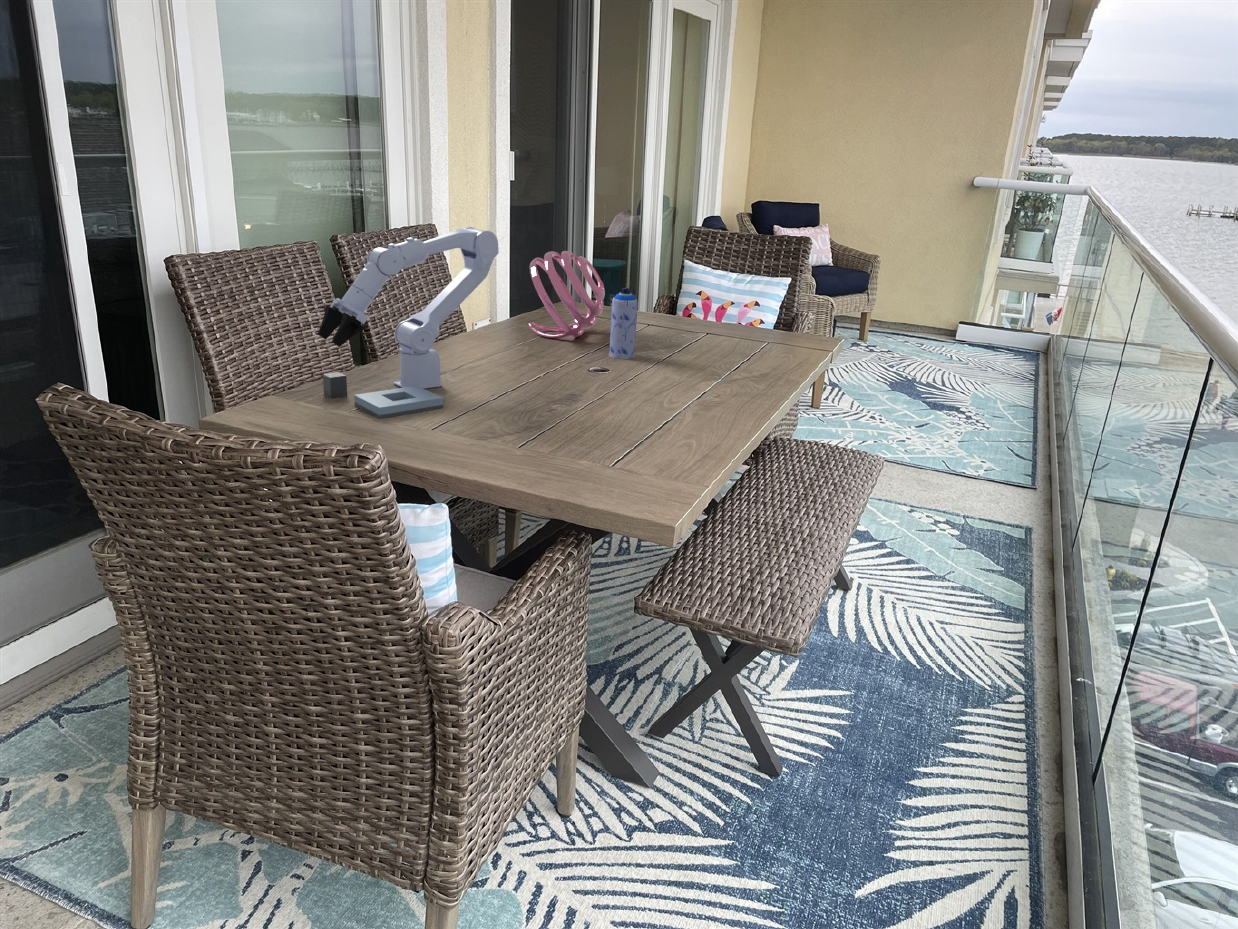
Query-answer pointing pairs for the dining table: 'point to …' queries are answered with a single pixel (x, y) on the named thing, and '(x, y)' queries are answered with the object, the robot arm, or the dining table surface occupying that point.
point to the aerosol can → (623, 325)
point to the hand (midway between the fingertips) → (328, 340)
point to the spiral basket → (568, 294)
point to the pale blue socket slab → (398, 401)
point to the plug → (335, 385)
